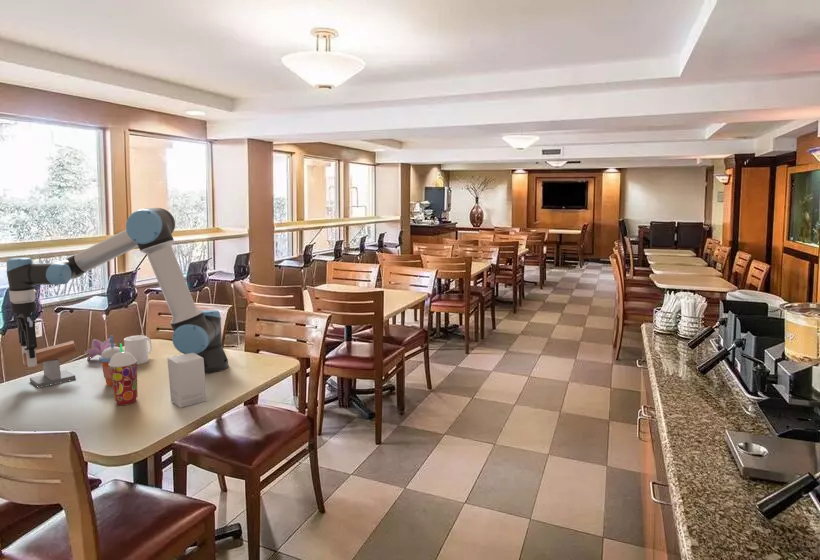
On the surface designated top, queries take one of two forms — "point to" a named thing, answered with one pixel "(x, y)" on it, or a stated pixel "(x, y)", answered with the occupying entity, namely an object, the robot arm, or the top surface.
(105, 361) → the cup with straw
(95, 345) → the lily
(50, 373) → the ridge stand
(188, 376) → the supplement box
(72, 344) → the batten
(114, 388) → the smoothie
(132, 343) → the cup
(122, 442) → the top surface
